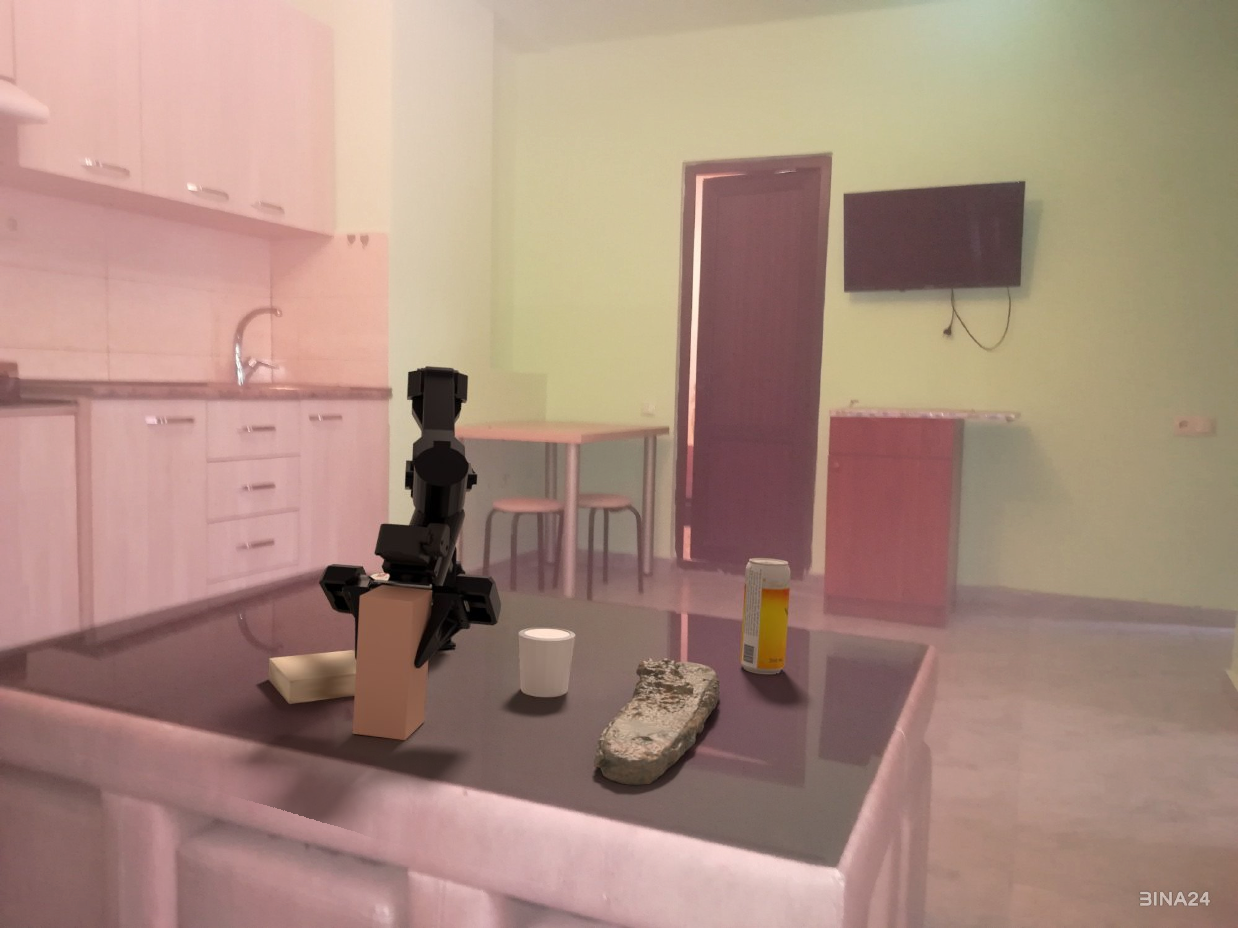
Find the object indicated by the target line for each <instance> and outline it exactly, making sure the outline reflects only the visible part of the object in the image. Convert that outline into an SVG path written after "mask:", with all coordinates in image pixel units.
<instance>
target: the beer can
mask: <svg viewBox="0 0 1238 928" xmlns="http://www.w3.org/2000/svg"><path fill="white" fill-rule="evenodd" d="M748 560H749V561H748V562H747V564H746V566H745V573H744V575H745V576H744V589H743V591H744V593H743V609H742V621H741V622H742V624H741V625H742V626H741V637H740V638H741V643H740V656H739V657H740V658H739V662H740V664H741V665H742V666H743V669H744V670H745V671H747V672H750V673H753V674H758V675H777V674H779V673H781V670H782V669H783V668H784V667H786V651H787V635H788V622H789V621H788V618H789V605H790V604H789V602H790V591H791V590H790V588H791V572H792V570H791V568H790V565H789V562H788V561H786V560H783V559H777V558H770V557H769V558H767V557H766V558H765V557H753V558H749V559H748ZM776 673H777V674H776Z"/></svg>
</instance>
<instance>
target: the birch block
mask: <svg viewBox="0 0 1238 928" xmlns="http://www.w3.org/2000/svg"><path fill="white" fill-rule="evenodd" d="M268 664H269V665H268V681H269V682H270V683H271V684H272V685H273V687H274V688H275V689H276V690H277V692H278V693H280V695H281V696H282V697H283V698H284V699H285V701H286V702H287V703H288V705H292V704H299V703H300V704H301V703H307V702H314V701H316V702H317V701H321V700H331V699H338V698H339V699H340V698H347V697H355V679H356V659H355V649H350V650H339V651H338V650H337V651H332V652H331V651H329V652H319V653H309V654H308V653H307V654H298V655H291V656H290V655H287V656H278V657H269V659H268Z"/></svg>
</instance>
